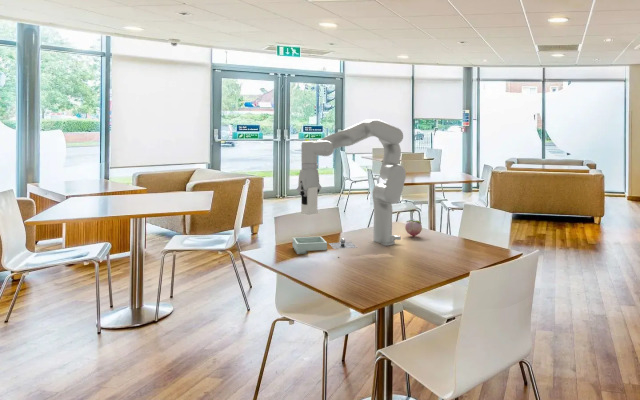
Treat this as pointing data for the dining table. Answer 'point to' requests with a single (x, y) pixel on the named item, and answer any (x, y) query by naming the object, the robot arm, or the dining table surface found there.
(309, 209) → the light grey block
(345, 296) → the dining table surface
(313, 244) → the bin
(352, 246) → the stud base
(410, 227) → the decorative fruit
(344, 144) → the robot arm
